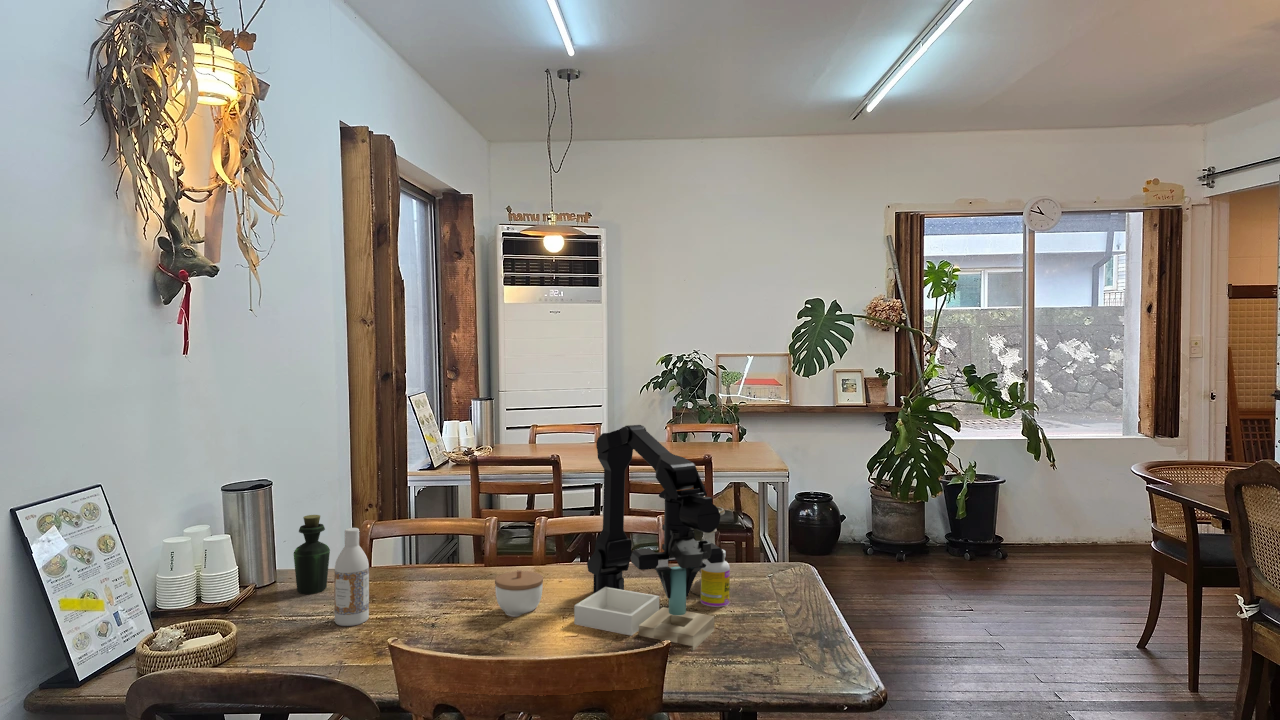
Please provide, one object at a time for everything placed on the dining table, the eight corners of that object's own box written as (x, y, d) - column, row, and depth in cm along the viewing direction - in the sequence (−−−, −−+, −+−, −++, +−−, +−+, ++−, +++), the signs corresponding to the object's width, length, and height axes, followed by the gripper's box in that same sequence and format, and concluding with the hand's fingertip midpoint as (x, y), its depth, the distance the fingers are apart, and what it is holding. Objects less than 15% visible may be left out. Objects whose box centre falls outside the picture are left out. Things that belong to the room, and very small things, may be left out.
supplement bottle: (728, 612, 167) (728, 555, 167) (698, 609, 168) (699, 553, 168) (730, 602, 174) (731, 547, 173) (702, 600, 175) (702, 546, 175)
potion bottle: (335, 584, 184) (335, 512, 184) (322, 595, 176) (322, 520, 176) (302, 584, 184) (302, 512, 183) (287, 595, 176) (287, 520, 175)
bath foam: (327, 624, 158) (327, 531, 157) (349, 613, 164) (349, 524, 164) (354, 628, 156) (354, 534, 155) (375, 617, 162) (375, 526, 162)
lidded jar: (552, 612, 166) (552, 570, 166) (514, 624, 158) (514, 581, 158) (523, 600, 174) (523, 560, 173) (485, 612, 166) (485, 570, 166)
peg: (665, 613, 153) (666, 570, 152) (672, 608, 156) (673, 565, 156) (681, 616, 151) (682, 572, 151) (688, 610, 154) (688, 568, 154)
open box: (574, 628, 156) (574, 605, 156) (605, 608, 169) (605, 586, 169) (631, 640, 151) (631, 616, 150) (659, 618, 163) (659, 596, 163)
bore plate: (638, 639, 151) (638, 625, 151) (662, 620, 162) (662, 607, 161) (693, 651, 145) (693, 635, 145) (714, 630, 156) (714, 616, 156)
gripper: (648, 535, 142) (648, 615, 143) (736, 528, 149) (735, 605, 149) (630, 522, 153) (630, 596, 153) (712, 516, 159) (711, 587, 159)
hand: (677, 596), depth 153 cm, fingers closed on peg, 4 cm apart
